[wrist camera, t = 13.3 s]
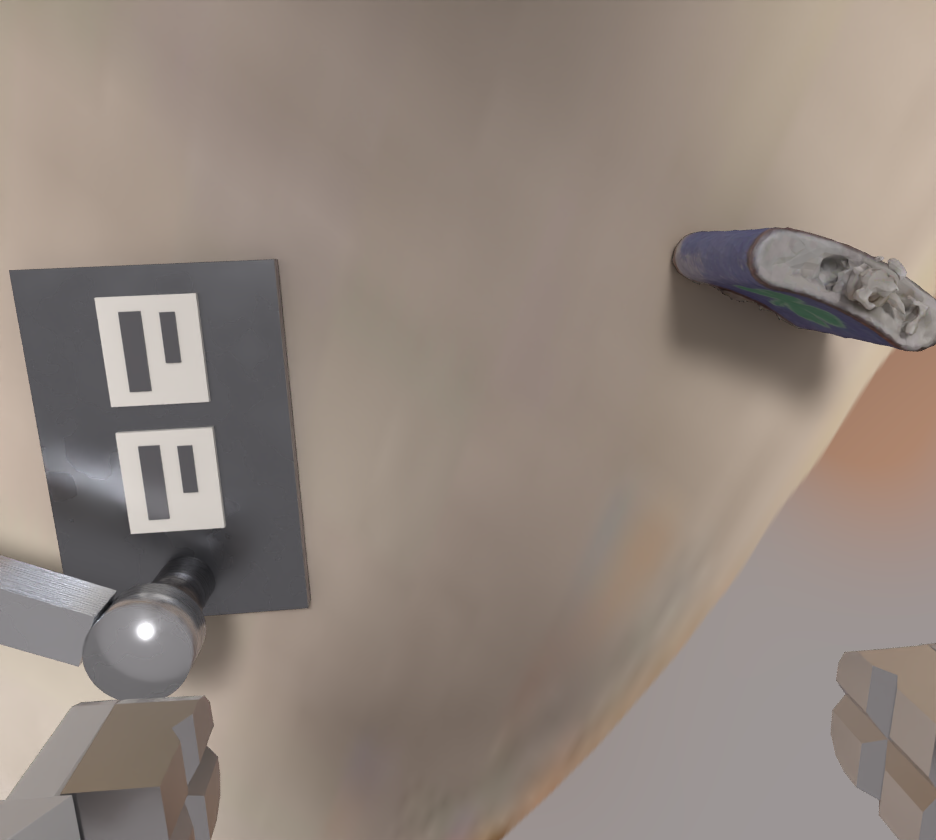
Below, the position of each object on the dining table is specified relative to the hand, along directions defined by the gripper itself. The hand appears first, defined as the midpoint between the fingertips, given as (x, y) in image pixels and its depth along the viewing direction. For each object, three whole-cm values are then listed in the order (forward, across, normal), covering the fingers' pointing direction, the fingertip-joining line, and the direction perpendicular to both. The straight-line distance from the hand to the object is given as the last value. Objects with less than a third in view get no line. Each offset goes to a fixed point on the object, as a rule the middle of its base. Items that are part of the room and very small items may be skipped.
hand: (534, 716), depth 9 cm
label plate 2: (+27, +14, +6) cm, 31 cm away
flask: (+29, -16, -3) cm, 33 cm away
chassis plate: (+28, +14, +4) cm, 32 cm away
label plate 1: (+28, +14, -1) cm, 31 cm away
